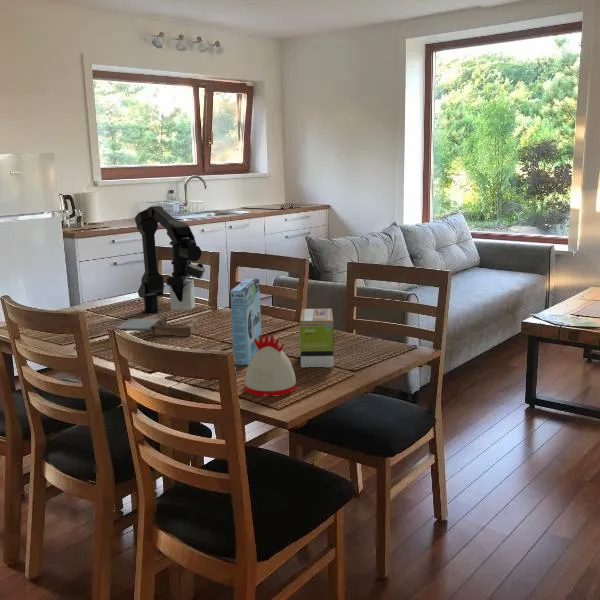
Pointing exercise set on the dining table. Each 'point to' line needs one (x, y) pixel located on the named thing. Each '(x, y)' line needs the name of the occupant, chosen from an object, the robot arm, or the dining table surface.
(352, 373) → the dining table surface
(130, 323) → the slate mat
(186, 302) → the small box
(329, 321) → the tea box
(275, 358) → the kitchen timer
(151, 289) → the robot arm
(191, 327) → the walnut bay
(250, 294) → the blue thin cardboard box
